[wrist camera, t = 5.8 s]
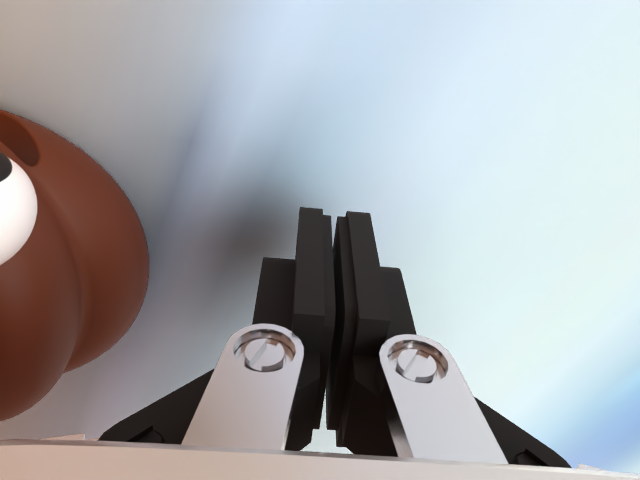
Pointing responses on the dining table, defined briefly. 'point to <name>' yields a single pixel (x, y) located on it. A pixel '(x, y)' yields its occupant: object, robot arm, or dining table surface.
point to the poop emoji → (60, 261)
